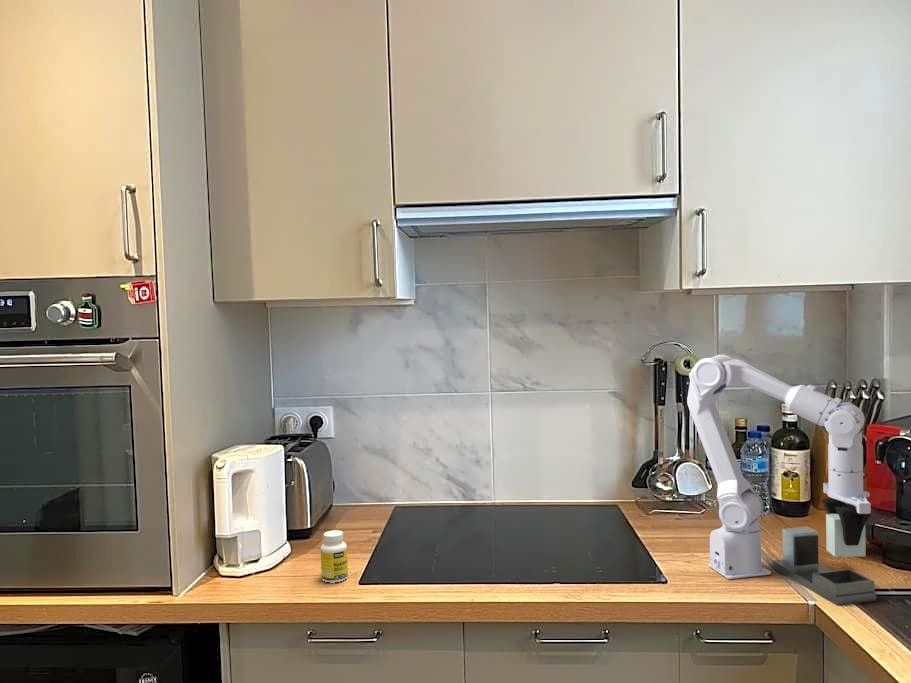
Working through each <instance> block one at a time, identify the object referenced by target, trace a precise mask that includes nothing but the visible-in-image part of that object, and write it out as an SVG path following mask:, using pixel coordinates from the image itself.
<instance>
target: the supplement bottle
mask: <svg viewBox="0 0 911 683" xmlns="http://www.w3.org/2000/svg"><path fill="white" fill-rule="evenodd" d="M343 540H344V532H343V531H342V530H335V529H334V530H329V531H326V532H324V533H323V541H324V542H323V543H322V544H321V545H320V563H321V564H320V566H321V580H322V582H324V581H325V582H324V583H326V582H330V583H329V584H336V583H335V582H339V583H341V582H340V581H342V582H344V581H346V580H347V579H348V576H349V574H348V573H349V572H348V547H347V543H346V542H345V541H343ZM345 579H346V580H345ZM343 580H344V581H343Z"/></svg>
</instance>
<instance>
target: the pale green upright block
mask: <svg viewBox="0 0 911 683" xmlns="http://www.w3.org/2000/svg"><path fill="white" fill-rule="evenodd" d="M825 534H826V535H825V536H826V537H825V538H826V539H825V541H826V542H825V543H826V544H825V545H826V551H827V552H828V553H829V554H831V555H832V556H833V557H836V558H837V557H838V558H840V557H841V558H843V557H846V558H847V557H866V551H867V550H866V524H865V525H864V528H863V531H862V534H861V538H860V541H859V544H858V545H852V546H848V545H846V544H845V541H844V537H843V529H842V524H841V520H840V517H839V515H838V514H828V513H826V514H825Z"/></svg>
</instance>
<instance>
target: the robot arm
mask: <svg viewBox="0 0 911 683" xmlns="http://www.w3.org/2000/svg"><path fill="white" fill-rule="evenodd" d="M688 379H689V386H688V391H687V392H688V393H687V399H686V404H687V406H688V410H689V412H690V415H691V417H692V421H693V423H694V426H695V428H696V431H697V433H698V436H699V439H700V441H701V443H702V444H701V445H702V446H703V450H704V452H705V454H706V458H707V459H708V462H709V465H710V467H711V470H712V473H713V475H714V478H715V480H716V484H717V491H716V492H717V494H716V499H717V500H718V501H717V502H718V506H719V508H718V517H719V520H720V521H721V524H722V526H721V527H719V528H717V529H713V530H712V531H711V532H710V534H709V562H708V565H707V566H708V567H710V568H711V569H713V570H714V571H716V572H717V573H719V574H720V575H722V577H724V578H726V579H728V580H733V579H741V578H751V577H761V576H766V575H767V576H769V575H772V572H771V571H770V570H768V569H767V568H765V567H763V566H762V533H761V532H762V530H761V524H760V521H759V517H760V516H762V513H763V512H764V503H763V500H762V498H761V496H759V495H758V494H757V493H756V492H755V490H754V489H753V487H752V484H751V482H750V481H748V479H746V477H744V475H743V473H742V470H741V467H740V465H739V462H738V460H737V457H736V454H735V452H734V449H733V447H732V444H731V441H730V438H729V436H728V434H727V431H726V428H725V426H724V423H723V420H722V418H721V416H720V413H719V411H718V410H719V409H718V408H717V405H716V403H717V402H718V400H719V397H720V396H721V394H722V392H723V391H724V390H725V389H726V388H727V387H732V386H747V387H749V388H752V389H754V390H756V391H759V392H761V393H763V394H766V395H768V396H770V397H772V398H775V399H777V400H779V401H782V402H784V403H785V406H786V408H787V411H789V412H790V413H793V414H795V415H796V416H799V417H800V418H802V419H805V420H806V421H809V422H812V423H813V424H815V425H818V426H819V427H825V428H824V429H825V430H826V432H828V444H827V458H828V459H827V466H828V468H827V469H828V470H827V471H828V473H827V476H828V482H823V483H822V486H823V487H822V489H823V490H822V492H823V494H825V495H827V496H828V497H826V498H821V499H820V500H821V503H822V505H823V506H824V508H825V510H826V514H838V515H839V517H840V520H841V524H842V529H843V537H844V541H845V544H846V545H848V546H852V545H858V544H859V541H860V538H861V534H862V531H863V528H864V525H865V526H866V523H867V522H868V520H869V518H870V517H871V516H872V512H873V511H872V508H871V506H872V505H871V502H870V501H868V499H867V498H870V492H868V491H866V490H864V446H863V434H862V431H861V430H862V428H863V427H864V424H865V414H864V412H863V411H862V410H861V408H859V407H858V406H856V405H855V404H854V403H852V402H842V400H843V399H841V398H839V397H835V398H833V397H831V396H829V395H827V394H825V393H823V392H821V391H818V390H817V386H815V385H813V384H808V385H807V386H806V385H805V384H799V385H796V386H792V385H790V384H787V382H786V383H785V382H784V381H782V380H780V379H778V378H776V377H774V376H773V375H770V374H768V373H766V372H764V371H762V370H761V369H758V368H756V367H754V366H753V365H751V364H748V363H746V362H745V361H742V360H740V359H736V358H732V357H730V356H729V355H726V354H716V355H714V356H712V357H706V358H702V359H699V360H698V361H697V362H696V363H695V365H694V367H692V369H691V371H690V372H689V374H688Z"/></svg>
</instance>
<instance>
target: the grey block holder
mask: <svg viewBox="0 0 911 683" xmlns="http://www.w3.org/2000/svg"><path fill="white" fill-rule="evenodd" d="M781 535H782V537H781V538H782V559H776V560H772V568H773V569H774V570H775V571H777V572H779V573H780V574H782V575H784V576H786V577H787V578H789V579H791V581H792V580H793V581H794V582H796V583H797V584H799V585H800V586H802V587H804V588H807V589H808V590H810V591H811V592H813V593H815V594H817V595H818V596H819V597H821V598H824V599H825V600H826V601H829V602H830V603H832V604H834V605H836V606H842V605H852V604H859V603H867V602H868V603H869V602H877V592H876V591H875V580H873V579H871V578H870V577H867V576H866V575H864V574H861V573H860V572H857V571H856V570H854V569H851V568H844V569H835V570H834V569H832V568H830V567H828V566H826V565H824V564H822V563H820V560H819V556H820V555H819V554H820V552H819V531H817V530H816V529H814V528H811V527H810V526H798V527H789V528H782V533H781Z"/></svg>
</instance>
